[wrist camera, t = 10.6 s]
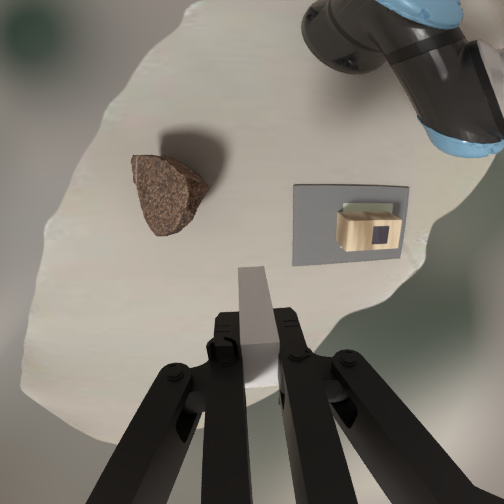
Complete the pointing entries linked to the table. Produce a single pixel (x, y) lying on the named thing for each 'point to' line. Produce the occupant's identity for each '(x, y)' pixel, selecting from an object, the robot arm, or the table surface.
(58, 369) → the table surface
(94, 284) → the table surface
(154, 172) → the rock
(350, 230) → the beech block
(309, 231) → the rubber mat
